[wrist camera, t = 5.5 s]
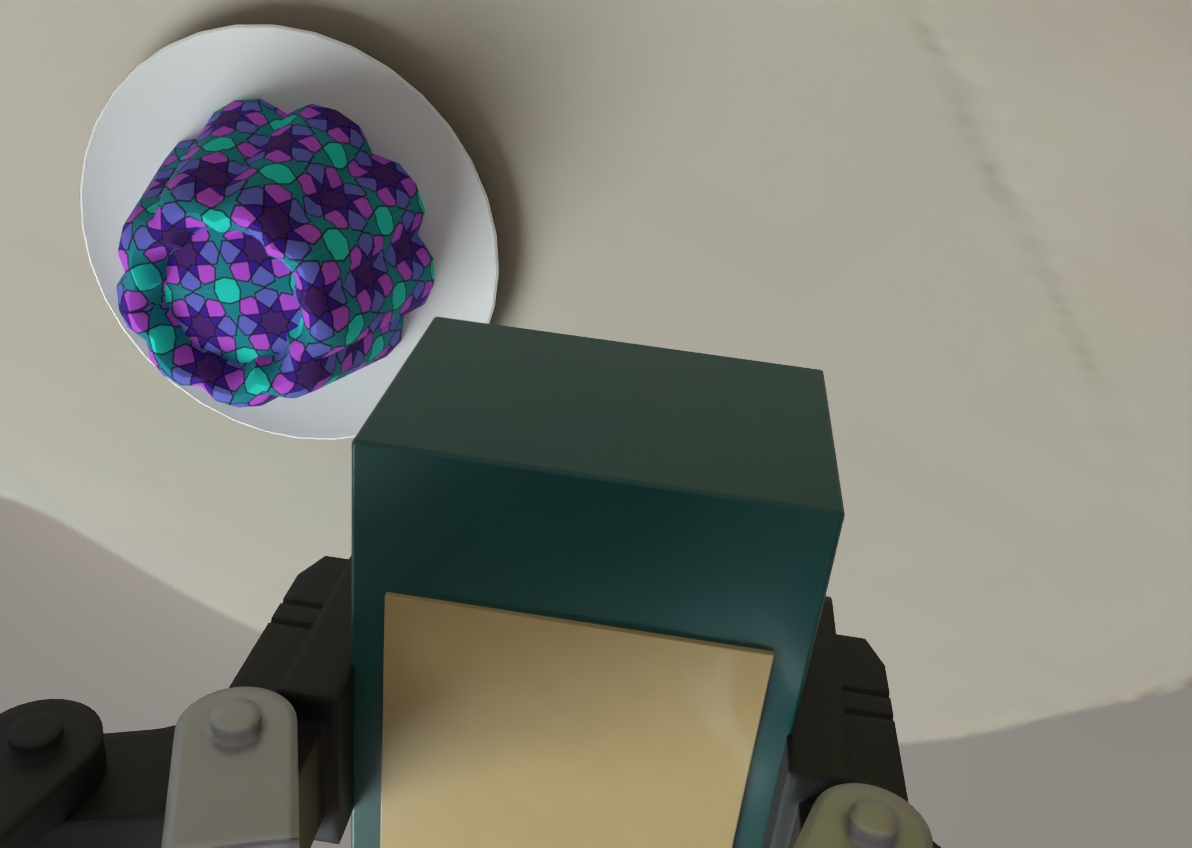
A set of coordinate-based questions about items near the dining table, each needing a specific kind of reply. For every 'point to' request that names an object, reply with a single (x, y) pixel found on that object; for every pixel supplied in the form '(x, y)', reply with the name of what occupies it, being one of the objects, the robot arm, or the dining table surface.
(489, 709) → the packet
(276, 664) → the robot arm
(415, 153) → the pudding
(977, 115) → the dining table surface
